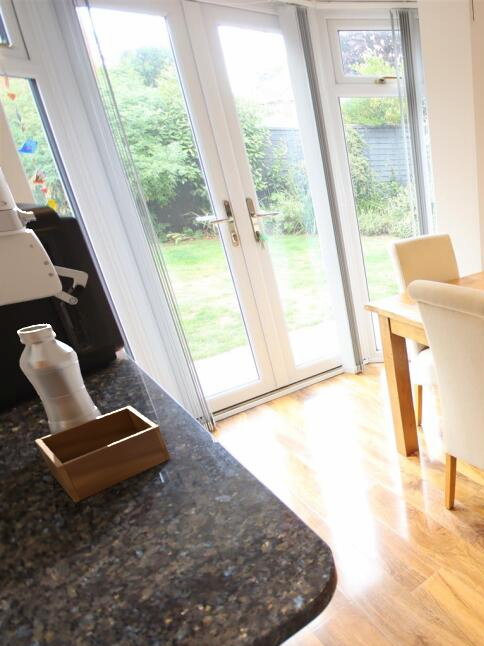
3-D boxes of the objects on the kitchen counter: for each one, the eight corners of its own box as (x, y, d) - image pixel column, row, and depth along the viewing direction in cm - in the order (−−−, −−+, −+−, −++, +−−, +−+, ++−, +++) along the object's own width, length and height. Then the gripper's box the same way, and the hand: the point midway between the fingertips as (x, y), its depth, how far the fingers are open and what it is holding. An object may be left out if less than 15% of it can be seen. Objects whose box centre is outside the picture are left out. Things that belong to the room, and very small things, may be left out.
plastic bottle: (56, 438, 78) (3, 329, 71) (107, 422, 83) (62, 318, 75) (57, 454, 74) (1, 340, 66) (111, 436, 78) (64, 327, 71)
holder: (51, 473, 70) (34, 440, 67) (142, 436, 78) (129, 405, 76) (75, 503, 63) (57, 467, 61) (171, 458, 72) (158, 426, 70)
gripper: (58, 215, 73) (96, 316, 80) (-116, 230, 60) (-53, 349, 67) (73, 218, 69) (111, 325, 76) (-110, 235, 56) (-44, 361, 63)
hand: (34, 336), depth 71 cm, fingers open, 9 cm apart
